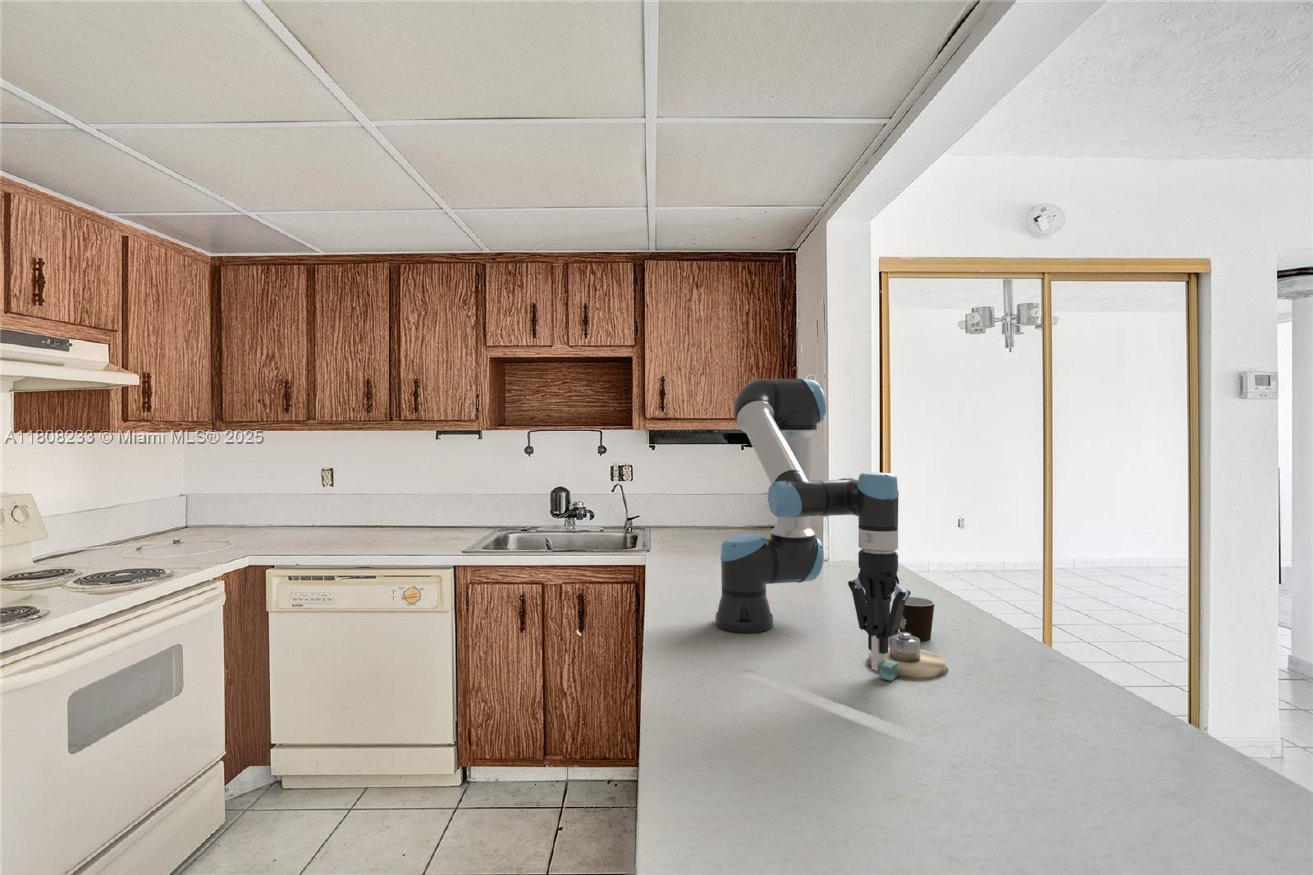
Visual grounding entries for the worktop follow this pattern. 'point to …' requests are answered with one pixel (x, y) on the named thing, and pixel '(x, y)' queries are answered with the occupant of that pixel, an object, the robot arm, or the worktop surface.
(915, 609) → the coffee mug
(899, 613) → the robot arm
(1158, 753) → the worktop surface
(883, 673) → the platter
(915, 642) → the cover
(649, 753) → the worktop surface
